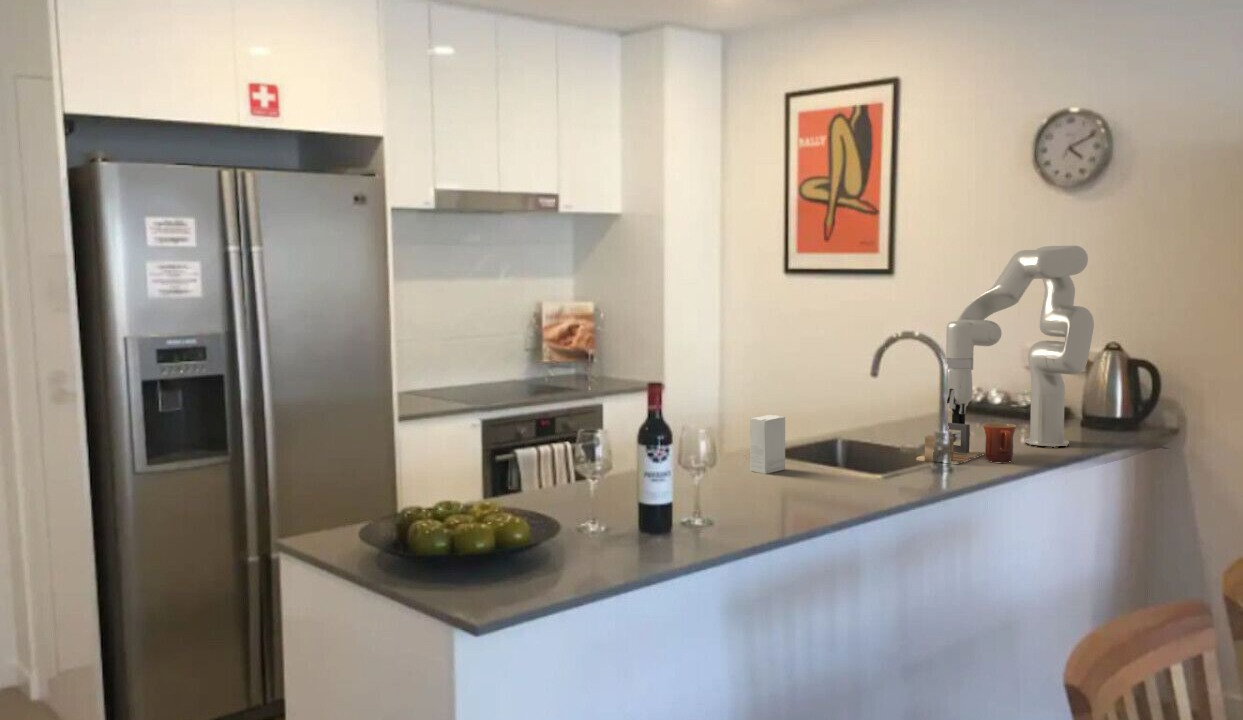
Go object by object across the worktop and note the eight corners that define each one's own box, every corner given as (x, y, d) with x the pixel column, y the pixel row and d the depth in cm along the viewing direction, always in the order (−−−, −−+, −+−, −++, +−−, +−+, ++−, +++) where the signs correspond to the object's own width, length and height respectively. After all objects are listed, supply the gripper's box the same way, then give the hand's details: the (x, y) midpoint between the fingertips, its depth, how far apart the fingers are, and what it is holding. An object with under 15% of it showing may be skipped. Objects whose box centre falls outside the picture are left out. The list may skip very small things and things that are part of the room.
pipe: (961, 437, 310) (961, 429, 310) (970, 438, 308) (970, 429, 308) (935, 446, 296) (935, 437, 296) (944, 447, 295) (944, 438, 294)
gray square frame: (942, 449, 307) (943, 422, 306) (969, 452, 301) (969, 424, 301) (939, 450, 305) (939, 423, 304) (965, 453, 300) (966, 425, 299)
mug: (978, 458, 299) (978, 422, 299) (1009, 458, 299) (1009, 422, 298) (992, 466, 287) (992, 429, 287) (1024, 466, 287) (1025, 429, 286)
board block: (946, 450, 313) (946, 427, 313) (985, 454, 306) (986, 430, 305) (916, 460, 298) (916, 435, 298) (957, 465, 291) (957, 439, 290)
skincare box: (770, 467, 291) (770, 413, 290) (786, 470, 286) (786, 416, 285) (748, 471, 286) (748, 417, 284) (765, 474, 281) (765, 419, 280)
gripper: (957, 361, 311) (956, 423, 313) (935, 365, 300) (934, 429, 302) (982, 363, 306) (981, 425, 308) (961, 367, 295) (960, 431, 297)
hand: (958, 427), depth 305 cm, fingers closed
